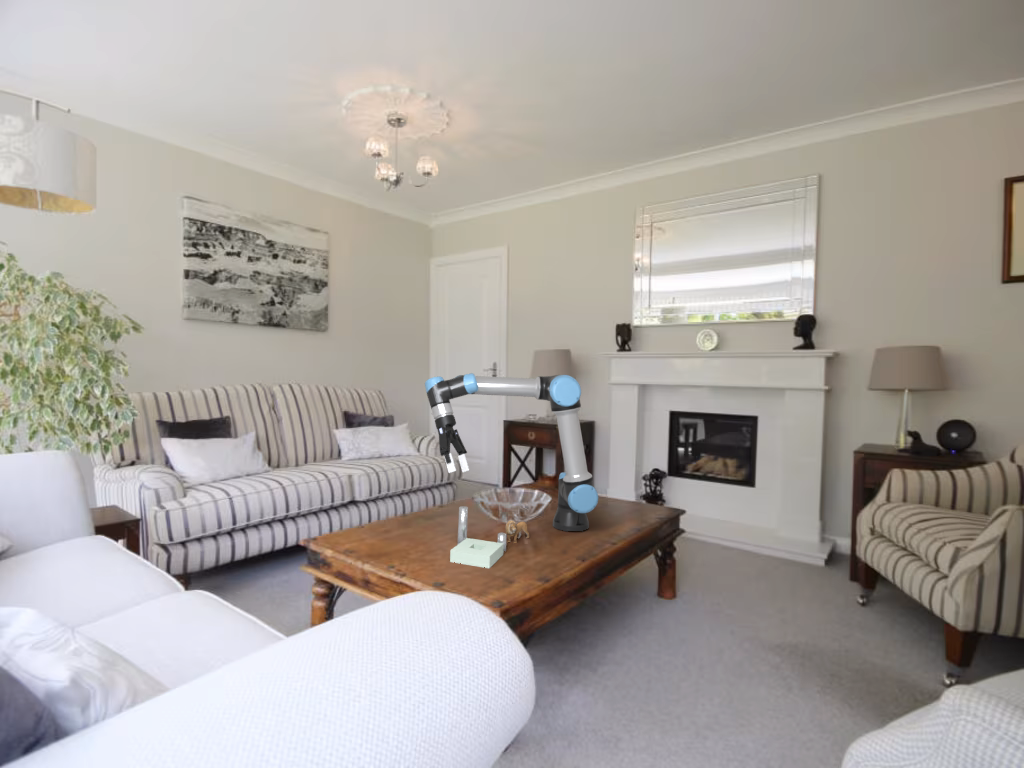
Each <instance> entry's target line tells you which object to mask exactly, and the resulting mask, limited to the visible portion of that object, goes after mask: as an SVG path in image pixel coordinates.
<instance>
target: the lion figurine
mask: <svg viewBox="0 0 1024 768" xmlns="http://www.w3.org/2000/svg"><path fill="white" fill-rule="evenodd" d="M522 531H523V532H524V534H525V536H526V539H527V538H529V539H530V532H529V529H528V524H527V523H526V522H525V521H519V522H518V523H516V522H515V521H514V520H508V521H507V522H506V524H505V533H506V534H507V539H508V540H506V543H508V542H510V543H511V542H512V540H511V539H512V538H511V537H513V544H514V543H517V538H518V539H520V538H521V536H522ZM517 544H518V543H517Z"/></svg>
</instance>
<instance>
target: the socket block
mask: <svg viewBox="0 0 1024 768" xmlns="http://www.w3.org/2000/svg"><path fill="white" fill-rule="evenodd" d="M503 548H504V543H497V542H496V541H489V540H482V539H475V538H468V537H467V538H466V539H465V540H463V541H462V542H461V543H459V544H458V543H457V545H455V546H454V547H453V548H451V549H450V552H449V553H450V555H449V559H450V561H449V562H450V563H454V562H455V563H456V564H460V563H461V565H465V566H466V565H467V566H473V567H478V568H484V567H485V568H484V569H490V568H491V567H493V565H494V564H496V563H497V562H498V561H499V559H500V558H502V557H503V556H504V552H503ZM455 563H454V564H455Z"/></svg>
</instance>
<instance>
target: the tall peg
mask: <svg viewBox="0 0 1024 768" xmlns="http://www.w3.org/2000/svg"><path fill="white" fill-rule="evenodd" d="M468 513H469V506H464V505H463V506H462V505H461V506H459V507H458V529H457V545H458V544H459V543H461V542H462V541H463V540H465V539H466V538H468V518H469V517H468Z"/></svg>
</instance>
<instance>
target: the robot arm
mask: <svg viewBox="0 0 1024 768" xmlns="http://www.w3.org/2000/svg"><path fill="white" fill-rule="evenodd" d="M424 387H425V392H426V396H427V400H428V402H429V406H430V408H431V415H432V416H433V419H435V420H434V424H435V427H436V429H437V433H438V441H439V442H438V443H439V444H438V445H439V453H440V456H441V457H442V456H443V457H444V462H445V464H446V468H447V471H448V474H451V473H454V472H456V471H457V468H456V464H455V461H454V457H453V454H452V453H451V446H453V448H454V450H455V451H456V453H457V455H458V456H457V457H458V461H459V465H460V468H461V469H460V470H461V471H462V473H465V472H468V471H470V466H469V462H468V460H467V457H466V454H467V453H468V451H467V449H466V447H465V445H464V442H463V441H462V439H461V436H460V435H459V432H458V429H454V426H456V425H457V422H456V418H455V415H454V411H453V407H452V404H451V401H450V400H454V399H457V398H460V397H464V396H466V395H467V396H469V395H483V396H500V397H501V396H502V397H503V396H506V397H524V398H525V397H528V398H529V397H532V398H535V399H536V400H541V401H548V402H549V403H550V409H551V413H553V414H554V415H555V416H556V421H557V428H558V435H559V441H560V446H561V451H562V458H563V465H564V470H565V471H564V472H560V474H559V477H558V494H557V495H558V496H557V501H558V502H557V509H556V512H555V513H554V517H553V519H552V527H553V528H554V529H556V530H559V531H562V530H563V531H562V532H568V531H582V532H584V531H583V530H586V529H588V528H590V521H589V519H588V515H587V513H590V512H592V511H593V510H594V509H595V508H596V507H597V505H598V503H599V493H598V491H597V489H596V488H595V484H594V478H593V474H592V473H590V472H589V471H588V465H587V460H586V454H585V448H584V442H583V436H582V430H581V421H580V417H579V411H580V409H581V408H582V404H581V395H582V389H581V385H580V383H579V381H578V380H577V379H575V377H573V376H570V375H568V374H555V375H546V376H542V375H541V376H536V377H535V378H531V377H529V378H527V377H526V378H524V377H507V376H506V377H504V376H485V375H484V376H481V375H480V376H479V375H475V373H472V372H471V373H466V374H463V375H462V374H460V375H457V376H455V377H453V378H451V379H447V380H445V379H444V378H443V377H442V376H434V377H430V378H428V379H427V380H425V383H424ZM451 444H452V445H451ZM588 530H589V529H588ZM586 531H587V530H586Z"/></svg>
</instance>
